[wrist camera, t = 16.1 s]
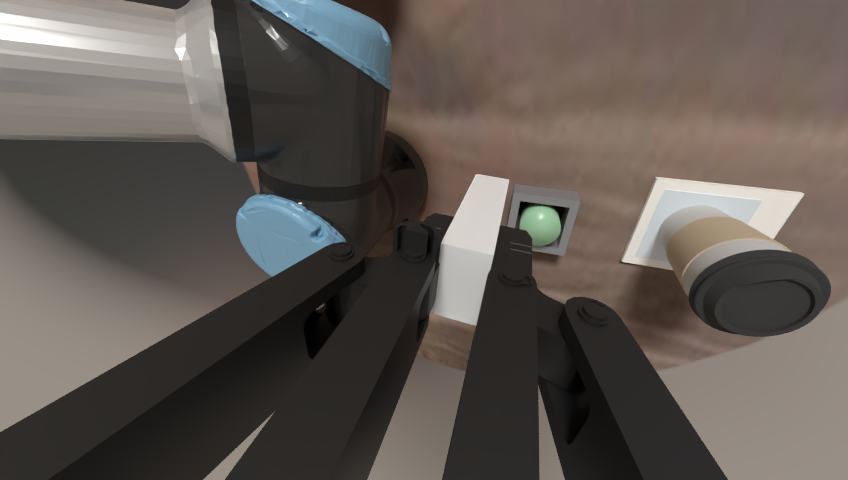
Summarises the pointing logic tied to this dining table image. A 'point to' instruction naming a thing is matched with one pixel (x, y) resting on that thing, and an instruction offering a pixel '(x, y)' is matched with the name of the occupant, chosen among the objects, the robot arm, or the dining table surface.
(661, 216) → the white flat piece
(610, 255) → the dining table surface
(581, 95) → the dining table surface
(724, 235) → the coffee cup
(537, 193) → the button box
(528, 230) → the button
